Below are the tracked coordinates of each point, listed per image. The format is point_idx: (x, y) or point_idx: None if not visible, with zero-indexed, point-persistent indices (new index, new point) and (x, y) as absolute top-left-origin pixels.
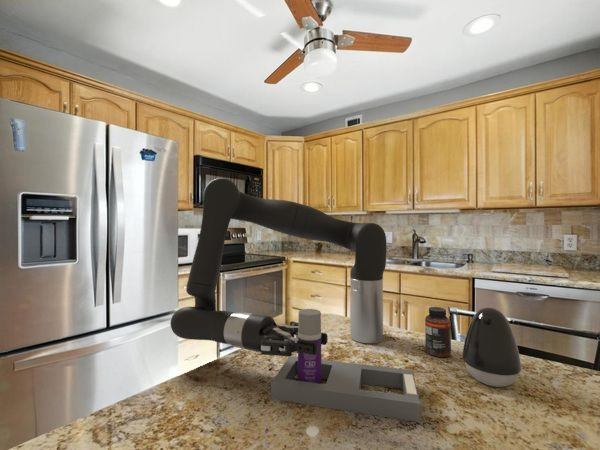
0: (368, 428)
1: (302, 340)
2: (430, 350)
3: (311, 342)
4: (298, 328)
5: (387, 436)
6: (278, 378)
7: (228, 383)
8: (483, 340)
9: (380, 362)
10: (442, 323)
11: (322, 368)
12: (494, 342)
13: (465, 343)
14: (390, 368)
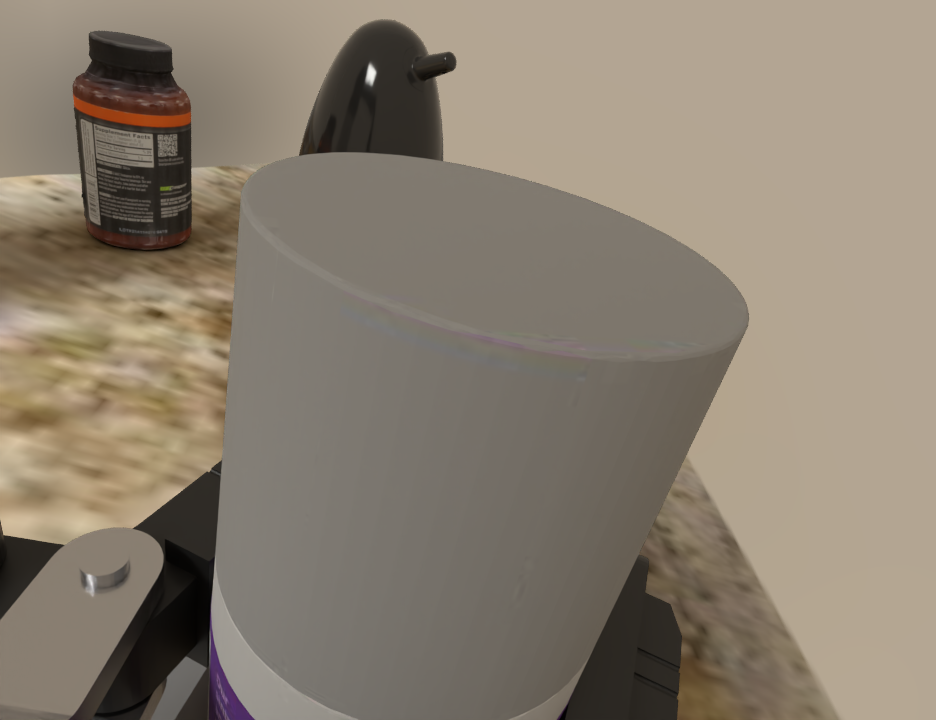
0: (692, 598)
1: (604, 711)
2: (149, 233)
3: (639, 594)
4: (486, 679)
5: (709, 551)
6: None
7: None
8: (422, 135)
9: (120, 384)
10: (186, 106)
11: (199, 705)
12: (437, 134)
13: None
14: None
